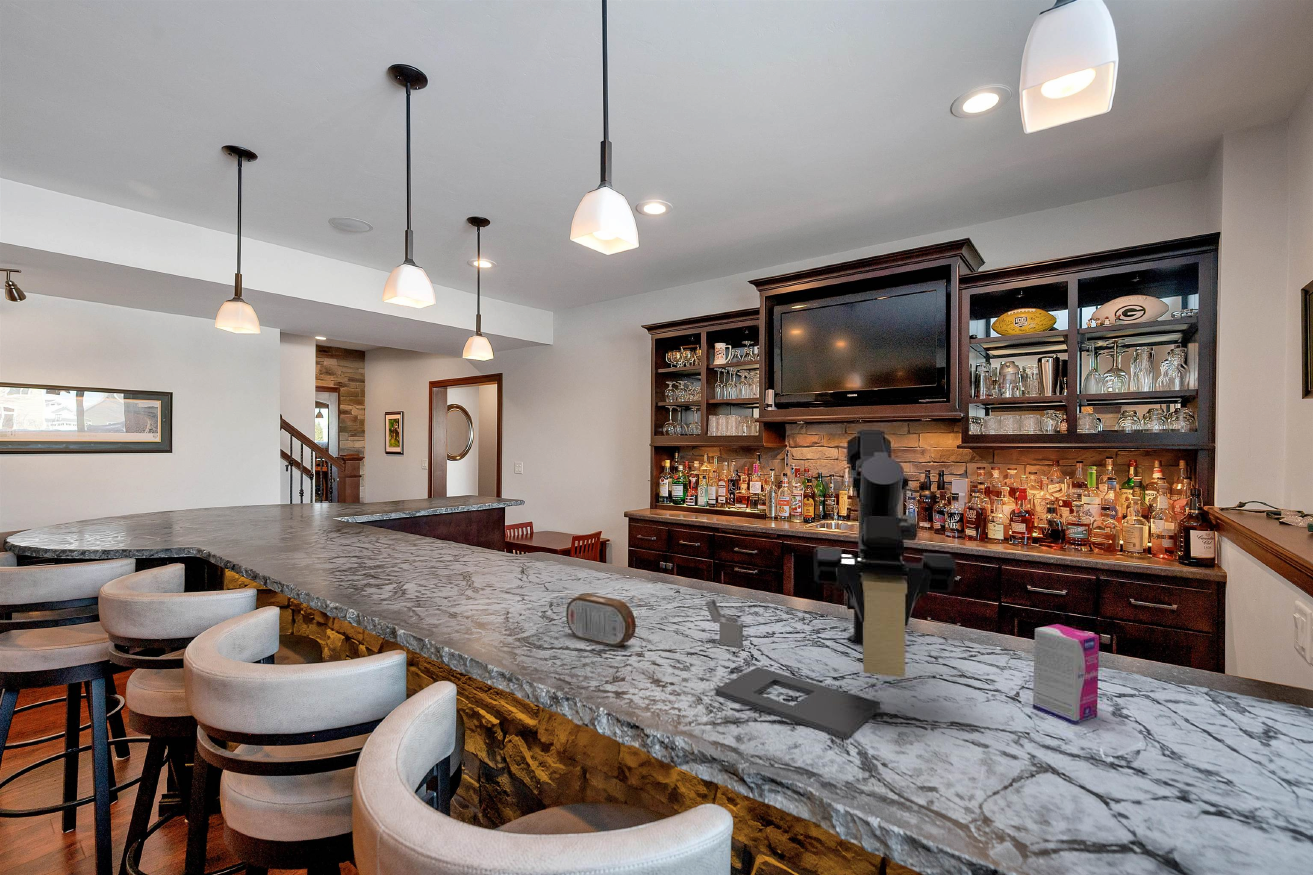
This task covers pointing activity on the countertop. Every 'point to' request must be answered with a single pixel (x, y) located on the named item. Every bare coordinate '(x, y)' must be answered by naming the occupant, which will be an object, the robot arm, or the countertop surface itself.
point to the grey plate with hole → (802, 702)
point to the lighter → (726, 626)
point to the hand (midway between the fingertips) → (884, 622)
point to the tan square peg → (884, 624)
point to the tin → (601, 619)
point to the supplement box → (1066, 673)
